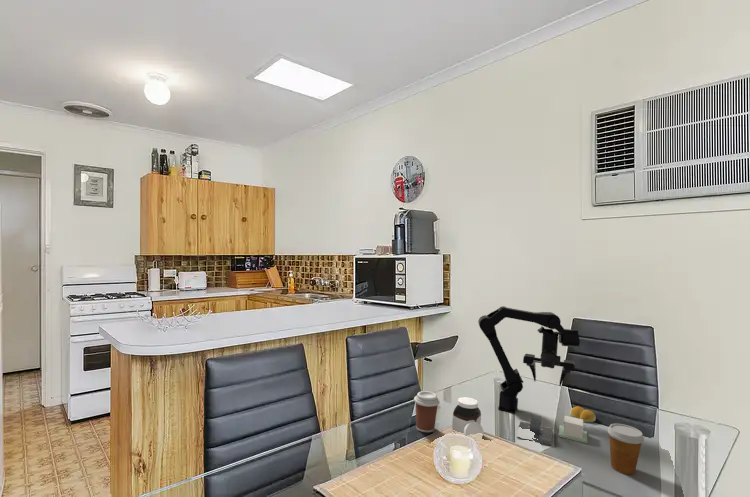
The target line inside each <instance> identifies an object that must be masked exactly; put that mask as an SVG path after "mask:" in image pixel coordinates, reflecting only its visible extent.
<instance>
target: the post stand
mask: <svg viewBox="0 0 750 497" xmlns="http://www.w3.org/2000/svg"><path fill="white" fill-rule="evenodd" d="M541 424H542V416H541V415H537V414H531V415H530V423H529V422H526V421H525V422H524V421H520V422H519V425H518V428H519V427H521V428H522V429H530V431H532V432H534V433H535V435H534V438H536V439H533V438H532V439H533V440H534V441H535V442H534V443H538V444H542V445H545V446H549V447H551V446H552V441H553V440H552V439H553V431H554V428H552V427H551V428H550V427H547V426H542V425H541ZM537 439H538V440H537Z"/></svg>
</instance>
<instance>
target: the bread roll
mask: <svg viewBox="0 0 750 497" xmlns="http://www.w3.org/2000/svg"><path fill="white" fill-rule="evenodd" d="M569 416H570V417H573V418H578V419H583V423H594V422H595V421H596V419H597V418H596V414H595V412H594V411H592V410H589V409H585V408H583V407H581V406H578V405H577V406H574V407H572V408H571V409H570V410H569Z"/></svg>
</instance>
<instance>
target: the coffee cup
mask: <svg viewBox="0 0 750 497" xmlns="http://www.w3.org/2000/svg"><path fill="white" fill-rule="evenodd" d="M440 401H441V400H440V399H439V397H438V395H437V394H436V393H434V392H433V391H427V390H422V391H419V392H417V395H415V396H414V397H413V402H414V404H415V423H416V424H415V426H416V430H418V432H422V433H432V432H434V431H435V427H436V420H437V412H438V406H439V405H440V404H441V402H440Z"/></svg>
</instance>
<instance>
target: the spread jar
mask: <svg viewBox="0 0 750 497" xmlns="http://www.w3.org/2000/svg"><path fill="white" fill-rule="evenodd" d="M478 406H479V401H478V400H476V399H474V398H472V397H465V396H463V397H459V398H457V405H456V406H455V408H454V410H453V413H452V421H451V422H452V423H451V427H452V428H451V430H452V431H453V430H455V431H457V432H461V433H464V435H465V436H467V435H470V434H477V433H482V434H484V428H483V426H482V425H481V423H482V411H481V410H480V407H478Z"/></svg>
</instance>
